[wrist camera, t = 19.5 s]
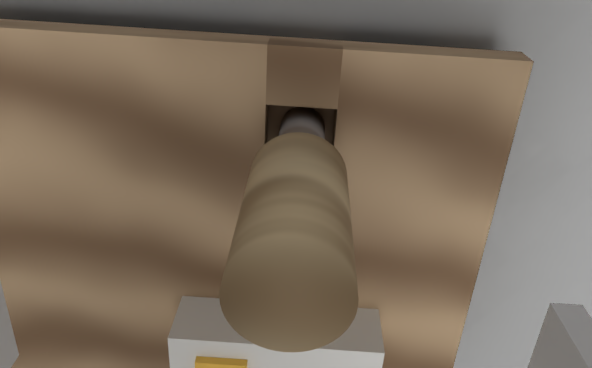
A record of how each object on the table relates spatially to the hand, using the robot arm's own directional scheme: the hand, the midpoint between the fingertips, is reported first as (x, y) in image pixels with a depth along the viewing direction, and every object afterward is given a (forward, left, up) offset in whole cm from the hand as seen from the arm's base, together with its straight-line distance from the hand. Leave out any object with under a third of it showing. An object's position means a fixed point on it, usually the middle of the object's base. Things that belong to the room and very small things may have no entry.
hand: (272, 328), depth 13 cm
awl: (0, 0, -13) cm, 13 cm away
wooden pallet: (-11, +4, -16) cm, 20 cm away
